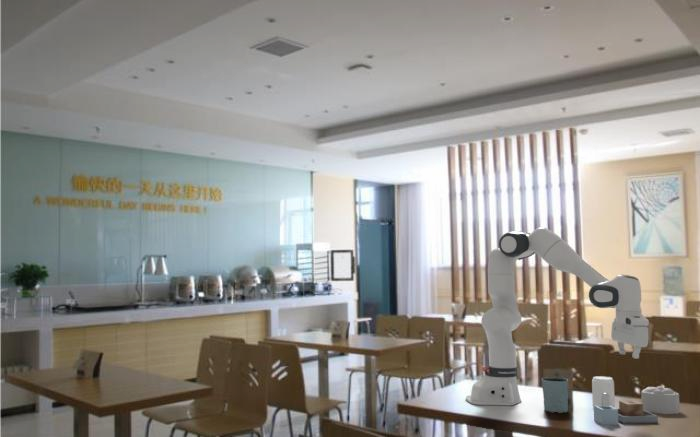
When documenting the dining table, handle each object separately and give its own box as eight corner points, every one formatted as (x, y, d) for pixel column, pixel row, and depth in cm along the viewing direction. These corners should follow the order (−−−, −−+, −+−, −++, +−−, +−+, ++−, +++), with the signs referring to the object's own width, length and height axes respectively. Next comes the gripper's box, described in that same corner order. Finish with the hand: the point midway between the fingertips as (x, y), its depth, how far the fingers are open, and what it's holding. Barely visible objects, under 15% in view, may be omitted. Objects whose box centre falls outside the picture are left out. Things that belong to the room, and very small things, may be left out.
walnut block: (627, 419, 227) (627, 404, 227) (619, 415, 233) (619, 400, 233) (643, 419, 227) (643, 404, 227) (635, 415, 233) (634, 400, 233)
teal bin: (565, 414, 238) (564, 382, 238) (539, 411, 243) (538, 379, 244) (571, 409, 246) (571, 378, 247) (545, 406, 251) (545, 375, 252)
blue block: (602, 425, 222) (601, 409, 223) (594, 421, 228) (593, 405, 229) (618, 424, 223) (617, 409, 223) (609, 420, 229) (609, 405, 229)
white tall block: (616, 411, 242) (615, 379, 243) (594, 410, 244) (593, 379, 245) (612, 406, 250) (611, 376, 251) (591, 405, 252) (590, 375, 253)
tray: (622, 423, 223) (622, 416, 223) (606, 415, 235) (606, 408, 235) (657, 423, 224) (657, 415, 224) (640, 415, 236) (639, 408, 236)
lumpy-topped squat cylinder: (644, 406, 251) (643, 384, 252) (680, 410, 244) (679, 387, 245) (641, 411, 242) (640, 388, 243) (678, 415, 236) (677, 392, 236)
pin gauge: (611, 419, 224) (610, 393, 225) (604, 419, 224) (603, 394, 225) (607, 417, 227) (606, 392, 228) (600, 417, 227) (600, 392, 227)
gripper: (606, 315, 242) (607, 351, 242) (634, 321, 222) (635, 360, 221) (622, 315, 243) (622, 351, 242) (651, 321, 223) (652, 360, 222)
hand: (628, 356), depth 232 cm, fingers open, 8 cm apart
